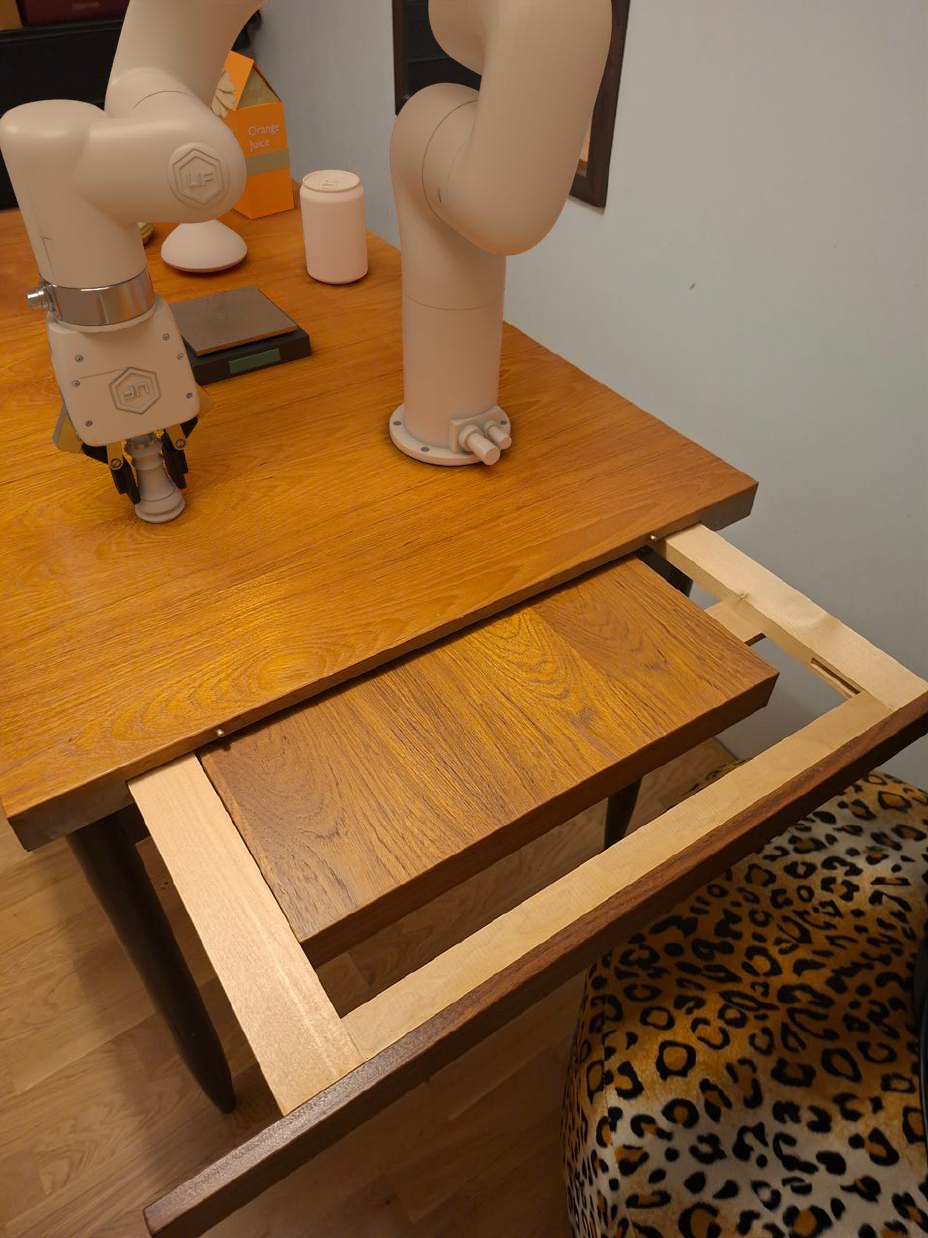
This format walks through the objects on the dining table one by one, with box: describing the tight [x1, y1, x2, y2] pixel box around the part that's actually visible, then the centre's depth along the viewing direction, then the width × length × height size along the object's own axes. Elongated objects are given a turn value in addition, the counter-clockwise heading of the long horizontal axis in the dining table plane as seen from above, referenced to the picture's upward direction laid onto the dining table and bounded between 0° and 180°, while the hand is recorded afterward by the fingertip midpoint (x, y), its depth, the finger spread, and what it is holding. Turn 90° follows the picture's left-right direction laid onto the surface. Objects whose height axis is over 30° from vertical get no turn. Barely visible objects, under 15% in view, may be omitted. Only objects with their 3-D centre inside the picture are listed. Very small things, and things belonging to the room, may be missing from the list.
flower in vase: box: [160, 66, 248, 273], centre depth 110 cm, size 13×11×25 cm
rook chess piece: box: [123, 432, 185, 524], centre depth 77 cm, size 4×4×8 cm
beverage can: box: [299, 169, 369, 285], centre depth 113 cm, size 8×8×12 cm
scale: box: [182, 288, 312, 387], centre depth 102 cm, size 14×14×2 cm
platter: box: [168, 285, 297, 356], centre depth 100 cm, size 12×12×1 cm
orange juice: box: [220, 49, 295, 220], centre depth 126 cm, size 8×9×20 cm
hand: (154, 486), depth 78 cm, fingers open, 3 cm apart
